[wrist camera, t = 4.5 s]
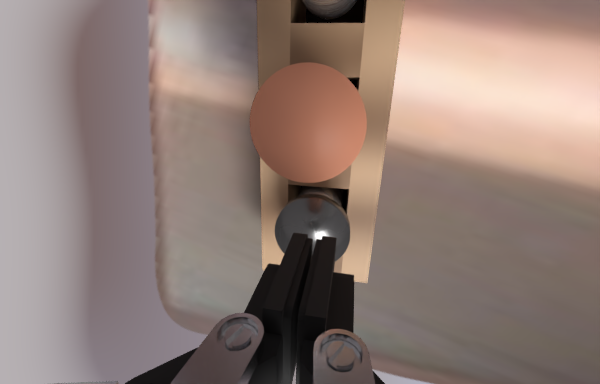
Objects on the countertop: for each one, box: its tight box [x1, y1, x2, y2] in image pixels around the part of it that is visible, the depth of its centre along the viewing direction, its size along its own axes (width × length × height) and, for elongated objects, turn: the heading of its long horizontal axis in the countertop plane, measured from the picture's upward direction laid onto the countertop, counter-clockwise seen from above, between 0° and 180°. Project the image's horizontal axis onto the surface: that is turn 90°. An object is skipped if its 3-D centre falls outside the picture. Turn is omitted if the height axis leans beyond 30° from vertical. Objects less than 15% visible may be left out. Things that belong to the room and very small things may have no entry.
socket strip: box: [257, 0, 405, 283], centre depth 17 cm, size 21×7×5 cm, turn 178°
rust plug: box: [250, 62, 367, 183], centre depth 13 cm, size 4×4×7 cm
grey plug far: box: [275, 186, 350, 261], centre depth 18 cm, size 4×4×7 cm
